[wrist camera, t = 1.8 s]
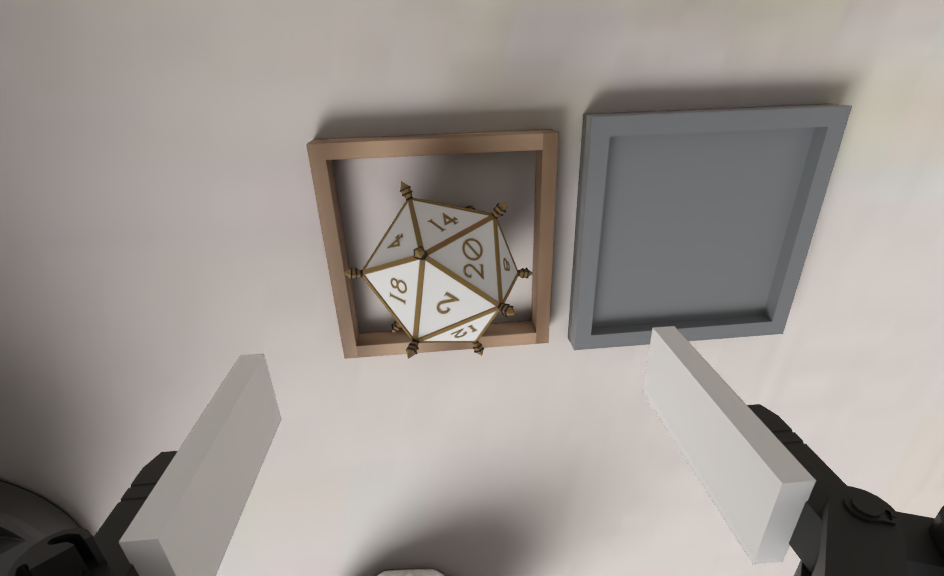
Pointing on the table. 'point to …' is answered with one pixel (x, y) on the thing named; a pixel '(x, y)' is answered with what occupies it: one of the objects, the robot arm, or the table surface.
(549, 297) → the corral
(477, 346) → the game die
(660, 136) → the tray
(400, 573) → the vase
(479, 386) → the table surface
